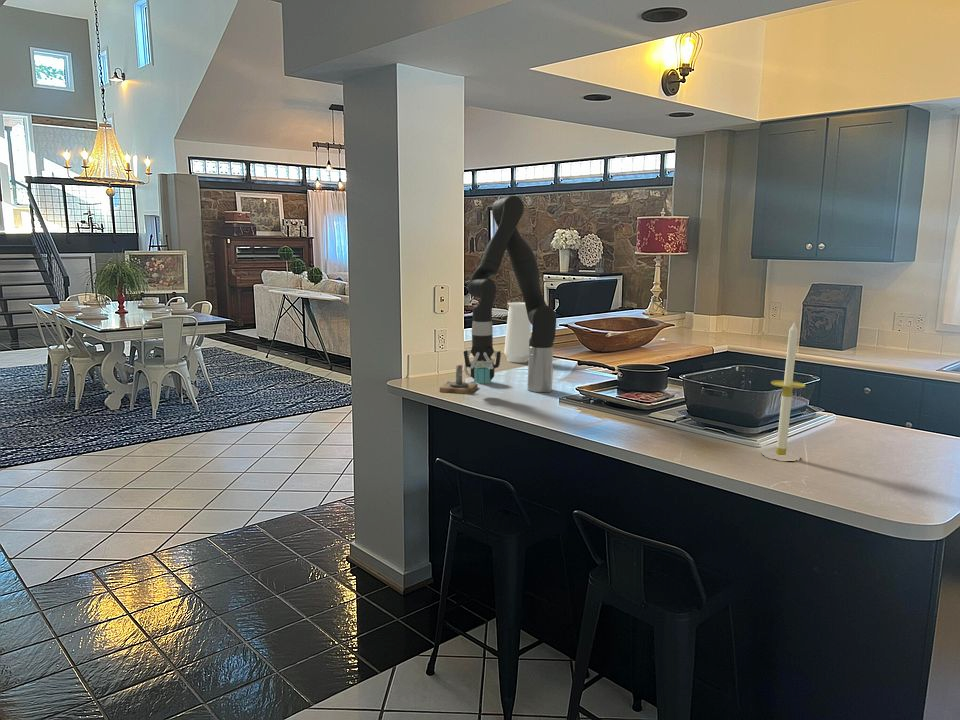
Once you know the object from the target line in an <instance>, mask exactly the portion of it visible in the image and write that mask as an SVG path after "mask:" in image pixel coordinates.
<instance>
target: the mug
mask: <svg viewBox="0 0 960 720" xmlns="http://www.w3.org/2000/svg"><path fill="white" fill-rule="evenodd" d="M491 359H492V361H493V364H495V361H496V357H493V356H491ZM469 361H470V364H472V362H473V360H469ZM475 367H490V366H489V364H488V363H487V361H477V363H476V365H475ZM463 371H464V374H466V376H467V377H470V378H472V377H471V373H469V372H468V367H466V365H465V364H464V367H463ZM492 380H493V379H491V382H490V383H489V384H491V383H492ZM482 384H487V383H482Z"/></svg>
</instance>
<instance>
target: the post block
mask: <svg viewBox="0 0 960 720" xmlns="http://www.w3.org/2000/svg"><path fill="white" fill-rule="evenodd" d="M478 385H479V383H475V382H474V383H470V382H464V381H463V364H456V365H455V381H447V382H446V383H444V384H443V385H442V386H440V387H439V392H440V393H454V394H466V395H468V394H469V395H470V394H472V393H473V392H474V391H475V390H476V389H477V388H478Z"/></svg>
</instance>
